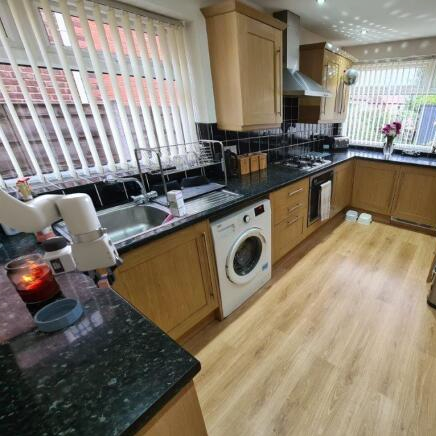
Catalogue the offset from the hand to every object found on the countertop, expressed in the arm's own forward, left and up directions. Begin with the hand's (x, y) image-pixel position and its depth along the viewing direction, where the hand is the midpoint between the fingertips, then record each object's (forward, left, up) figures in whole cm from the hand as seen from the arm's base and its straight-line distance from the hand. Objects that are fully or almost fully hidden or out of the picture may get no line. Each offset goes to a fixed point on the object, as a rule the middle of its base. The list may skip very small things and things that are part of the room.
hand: (106, 283), depth 80 cm
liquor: (-38, +56, -4) cm, 68 cm away
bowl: (-10, -8, -4) cm, 14 cm away
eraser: (0, 0, 0) cm, 0 cm away
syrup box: (+20, +67, -4) cm, 70 cm away
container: (-20, +24, -4) cm, 32 cm away
